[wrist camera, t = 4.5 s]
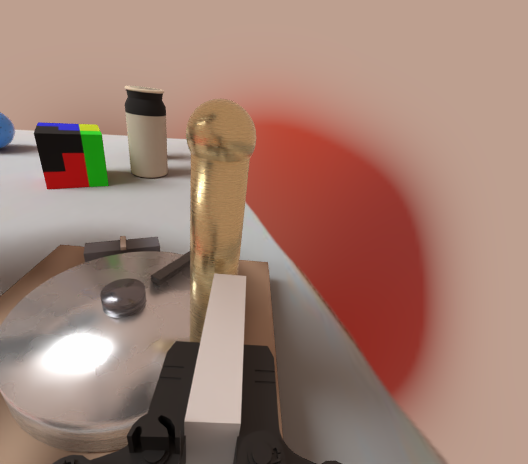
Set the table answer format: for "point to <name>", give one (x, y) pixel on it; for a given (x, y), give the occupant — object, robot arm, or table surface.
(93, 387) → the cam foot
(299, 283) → the table surface
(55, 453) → the walnut stand
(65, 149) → the puzzle toy
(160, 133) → the travel mug
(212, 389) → the robot arm
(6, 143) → the cell model
